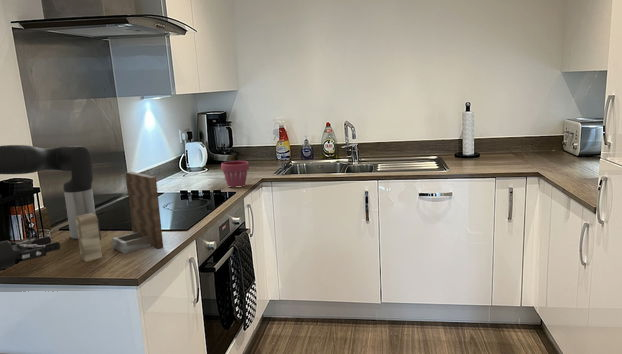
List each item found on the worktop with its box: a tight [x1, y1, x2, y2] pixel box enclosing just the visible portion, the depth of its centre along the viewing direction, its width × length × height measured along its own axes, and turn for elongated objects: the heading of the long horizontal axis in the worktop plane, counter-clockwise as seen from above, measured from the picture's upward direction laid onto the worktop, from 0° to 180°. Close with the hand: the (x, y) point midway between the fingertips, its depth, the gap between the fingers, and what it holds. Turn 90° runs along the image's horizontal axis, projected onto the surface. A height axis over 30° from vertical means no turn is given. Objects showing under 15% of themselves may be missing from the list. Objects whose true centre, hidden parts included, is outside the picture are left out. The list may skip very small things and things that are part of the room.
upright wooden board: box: [112, 171, 164, 255], centre depth 159 cm, size 18×11×24 cm, turn 45°
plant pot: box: [220, 160, 250, 187], centre depth 251 cm, size 14×14×13 cm
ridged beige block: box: [75, 213, 103, 263], centre depth 150 cm, size 4×6×14 cm
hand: (54, 242), depth 143 cm, fingers open, 8 cm apart
